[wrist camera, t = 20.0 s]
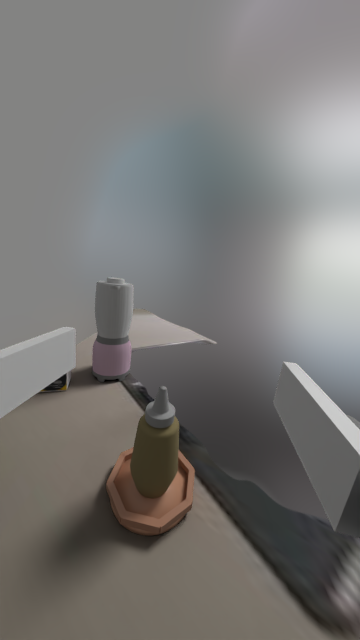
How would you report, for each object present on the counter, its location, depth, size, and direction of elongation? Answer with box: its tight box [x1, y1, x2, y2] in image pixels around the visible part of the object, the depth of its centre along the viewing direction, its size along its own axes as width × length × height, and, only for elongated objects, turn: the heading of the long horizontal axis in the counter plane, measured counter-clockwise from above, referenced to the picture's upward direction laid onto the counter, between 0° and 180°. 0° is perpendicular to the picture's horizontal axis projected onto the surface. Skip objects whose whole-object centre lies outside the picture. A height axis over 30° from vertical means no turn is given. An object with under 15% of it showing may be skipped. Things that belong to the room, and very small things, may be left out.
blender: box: [92, 278, 134, 382], centre depth 69 cm, size 16×12×32 cm
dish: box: [106, 447, 195, 536], centre depth 36 cm, size 14×14×2 cm
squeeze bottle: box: [130, 386, 179, 499], centre depth 34 cm, size 8×8×18 cm
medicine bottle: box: [39, 370, 71, 392], centre depth 60 cm, size 7×7×12 cm
